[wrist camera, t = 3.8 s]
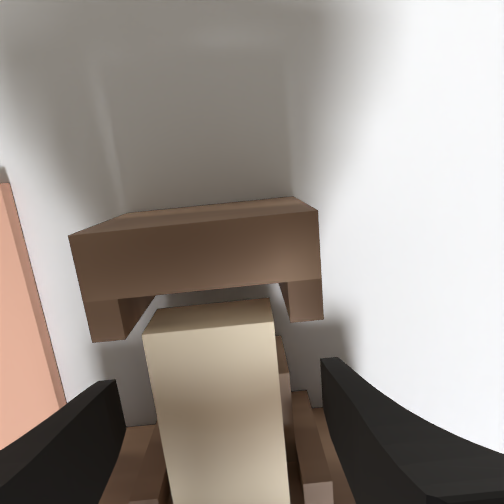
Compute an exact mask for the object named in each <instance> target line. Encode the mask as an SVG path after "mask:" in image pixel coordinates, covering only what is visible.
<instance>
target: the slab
mask: <svg viewBox="0 0 504 504" xmlns="http://www.w3.org/2000/svg"><path fill="white" fill-rule="evenodd" d="M141 336H142V341H143V346H144V351H145V357H146V362H147V367H148V372H149V378H150V383H151V388H152V393H153V399H154V404H155V409H156V415H157V420H158V425H159V430H160V436H161V441H162V446H163V451H164V457H165V462H166V467H167V473H168V478H169V483H170V488H171V494H172V499H173V504H290V495H289V484H288V473H287V462H286V451H285V440H284V428H283V417H282V406H281V395H280V384H279V373H278V362H277V351H276V340H275V328H274V320H273V315H272V309H271V304H270V299H269V298H260V299H250V300H240V301H230V302H220V303H210V304H200V305H191V306H181V307H171V308H161V309H157V310H156V312H155V314H154V315H153V317H152V319H151V320H150V322H149V323H148V325H147V327H146V328H145V330H144V332H143V333H142V335H141Z"/></svg>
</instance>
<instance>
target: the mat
mask: <svg viewBox="0 0 504 504" xmlns="http://www.w3.org/2000/svg"><path fill="white" fill-rule="evenodd" d="M66 404H67V403H66V399H65V396H64V392H63V388H62V384H61V380H60V376H59V372H58V369H57V365H56V361H55V357H54V353H53V349H52V345H51V342H50V338H49V334H48V330H47V326H46V322H45V318H44V315H43V311H42V307H41V303H40V299H39V295H38V291H37V288H36V284H35V280H34V276H33V272H32V268H31V264H30V261H29V257H28V253H27V249H26V245H25V241H24V237H23V234H22V230H21V226H20V222H19V218H18V214H17V210H16V207H15V203H14V199H13V195H12V191H11V187H10V183H0V450H2V449H3V448H5V447H6V446H8V445H9V444H11V443H12V442H14V441H15V440H17V439H18V438H20V437H21V436H23V435H24V434H26V433H27V432H28V431H30V430H31V429H33V428H34V427H36V426H37V425H38V424H40V423H41V422H43V421H44V420H46V419H47V418H48V417H50V416H51V415H52V414H54V413H55V412H56V411H58V410H59V409H60V408H62V407H63V406H64V405H66Z"/></svg>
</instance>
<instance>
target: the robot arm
mask: <svg viewBox="0 0 504 504" xmlns="http://www.w3.org/2000/svg"><path fill="white" fill-rule="evenodd" d="M320 363H321V380H322V398H323V411H324V415H325V418H326V422H327V426H328V430H329V434H330V437H331V440H332V443H333V445H334V448H335V451H336V453H337V456H338V458H339V461H340V464H341V466H342V469H343V471H344V474H345V476H346V479H347V482H348V484H349V487H350V489H351V492H352V494H353V497H354V500H355V502H356V504H504V454H502V453H499V452H496V451H493V450H491V449H488V448H486V447H483V446H480V445H478V444H475V443H473V442H470V441H468V440H466V439H463V438H461V437H459V436H457V435H454V434H452V433H450V432H448V431H446V430H444V429H442V428H440V427H438V426H436V425H434V424H432V423H430V422H428V421H426V420H424V419H422V418H421V417H419V416H417V415H416V414H414V413H412V412H410V411H409V410H407V409H405V408H404V407H402V406H400V405H399V404H397V403H396V402H394V401H393V400H392V399H390V398H389V397H387V396H386V395H384V394H383V393H381V392H380V391H379V390H377V389H376V388H375V387H373V386H372V385H371V384H369V383H368V382H367V381H366V380H364V379H363V378H362V377H361V376H360V375H358V374H357V373H356V372H355V371H354V370H352V369H351V368H350V367H349V366H348V365H347V364H345V363H344V362H343V361H342V360H341V359H339V358H338V357H333V358H323V359H320ZM125 433H126V425H125V420H124V415H123V411H122V406H121V402H120V397H119V392H118V388H117V383H116V379H114V380H105V381H98V382H96V383H95V384H93V385H92V386H90V387H89V388H87V389H86V390H85V391H83V392H82V393H80V394H79V395H78V396H76V397H75V398H74V399H72V400H71V401H70V402H68V403H67V404H66V405H64V406H63V407H62V408H60V409H59V410H58V411H56V412H55V413H54V414H52V415H51V416H50V417H48V418H47V419H46V420H44V421H43V422H41V423H40V424H38V425H37V426H36V427H34V428H33V429H31V430H30V431H28V432H27V433H26V434H24V435H23V436H21V437H20V438H18V439H17V440H15V441H14V442H12V443H11V444H9V445H8V446H6V447H5V448H3V449H2V450H0V504H98V503H99V501H100V499H101V497H102V494H103V492H104V490H105V488H106V485H107V483H108V481H109V478H110V476H111V474H112V471H113V469H114V467H115V464H116V462H117V459H118V457H119V453H120V450H121V447H122V444H123V440H124V436H125Z"/></svg>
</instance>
